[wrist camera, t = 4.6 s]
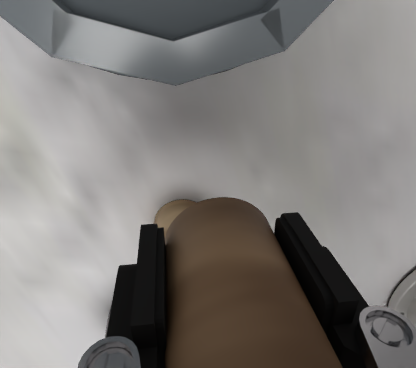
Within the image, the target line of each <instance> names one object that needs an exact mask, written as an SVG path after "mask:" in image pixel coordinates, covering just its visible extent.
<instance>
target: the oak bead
mask: <svg viewBox="0 0 416 368" xmlns="http://www.w3.org/2000/svg"><path fill="white" fill-rule="evenodd" d="M195 203H196V202H194V201H191V200H184V199H183V200H175V201H172V202H169V203H167V204H165V205H164V206H163V207H162V208H161V209H160V210H159V211H158V213H157V214H156V217H155V224H157V225H158V228H161V227H164V236H166V233H167V230H168V228H169V226H170V224H171V223H172V222H173V220H174V219H175V218H176V217H177V216H178V215H179V214H180V213H181V212H182V211H183V210H185V209H186V208H188V207H189V206H191V205H193V204H195Z"/></svg>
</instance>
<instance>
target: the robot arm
mask: <svg viewBox="0 0 416 368" xmlns="http://www.w3.org/2000/svg"><path fill="white" fill-rule="evenodd" d="M274 235H275V237H276V239H277V241H278V242H279V244H280V246H281V248H282V250H283V252H284V254H285V256H286V258H287V260H288V262H289V264H290V266H291V268H292V270H293V272H294V274H295V276H296V278H297V280H298V281H299V283H300V285H301V287H302V289H303V291H304V293H305V295H306V297H307V299H308V301H309V303H310V305H311V307H312V309H313V311H314V313H315V315H316V317H317V318H318V320H319V322H320V324H321V326H322V328H323V330H324V332H325V334H326V336H327V338H328V340H329V342H330V344H331V346H332V348H333V350H334V352H335V354H336V356H337V357H338V359H339V361H340V363H341V365H342V367H343V368H416V270H414V271H413V272H412V273H411V274H410V275H408V276H407V277H406V278H405V279H404V280H403V281H402V282H401V283H400V285H399V286H398V287H397V289H396V290H395V291H394V293H393V295H392V297H391V299H390V301H389V305H388V308H387V307H383V306H368V304H367V303H366V301H365V300H364V299H363V297H362V296H361V294H360V293H359V292H358V290H357V289H356V287H355V286H354V285H353V283H352V282H351V280H350V279H349V278H348V276H347V275H346V273H345V272H344V271H343V269H342V268H341V266H340V265H339V264H338V262H337V261H336V259H335V258H334V257H333V255H332V254H331V252H330V251H329V250H328V249H327V248H326V247H324V246H323V247H322V246H321V244H320V243H319V241H318V240H317V239H316V237H315V236H314V234H313V233H312V231H311V230H310V228H309V227H308V226H307V224H306V223H305V221H304V220H303V218H302V217H301V216H300V214H299V213H297V212H296V213H283V214H281V217H280V218H277V219H276V223H275V232H274ZM165 351H166V254H165V236H164V227H161V228H158V225H157V224H146V225H141V230H140V239H139V249H138V258H137V264H131V265H120V266H119V268H118V273H117V278H116V284H115V289H114V295H113V301H112V306H111V312H110V317H109V323H108V328H107V334H106V338H104V339H102V340H99V341H98V342H96V343H95V344H93V345H92V346H91V347H90V348H89V349H88V350H87V351H86V352H85V353H84V354H83V356H82V358H81V360H80V362H79V364H78V368H165Z"/></svg>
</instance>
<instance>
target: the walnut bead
mask: <svg viewBox="0 0 416 368" xmlns="http://www.w3.org/2000/svg"><path fill="white" fill-rule="evenodd" d="M165 254H166V351H165V368H343V367H342V365H341V363H340V361H339V359H338V357H337V356H336V354H335V352H334V350H333V348H332V346H331V344H330V342H329V340H328V338H327V336H326V334H325V332H324V330H323V328H322V326H321V324H320V322H319V320H318V318H317V317H316V315H315V313H314V311H313V309H312V307H311V305H310V303H309V301H308V299H307V297H306V295H305V293H304V291H303V289H302V287H301V285H300V283H299V281H298V280H297V278H296V276H295V274H294V272H293V270H292V268H291V266H290V264H289V262H288V260H287V258H286V256H285V254H284V252H283V250H282V248H281V246H280V244H279V242H278V241H277V239H276V237H275V235H274V233H273V231H272V229H271V227H270V225H269V223H268V221H267V219H266V217H265V216H264V215H263V213H262V212H261V211H260V210H259V209H258V208H256V207H255V206H254V205H252V204H250V203H248V202H246V201H243V200H240V199H236V198H228V197H218V198H211V199H207V200H203V201H200V202H198V203H195V204H193V205H191V206H189V207H188V208H186V209H185V210H183V211H182V212H181V213H180V214H179V215H178V216H177V217H176V218H175V219H174V220H173V222H172V223H171V224H170V226H169V228H168V230H167V233H166V236H165Z"/></svg>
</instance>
